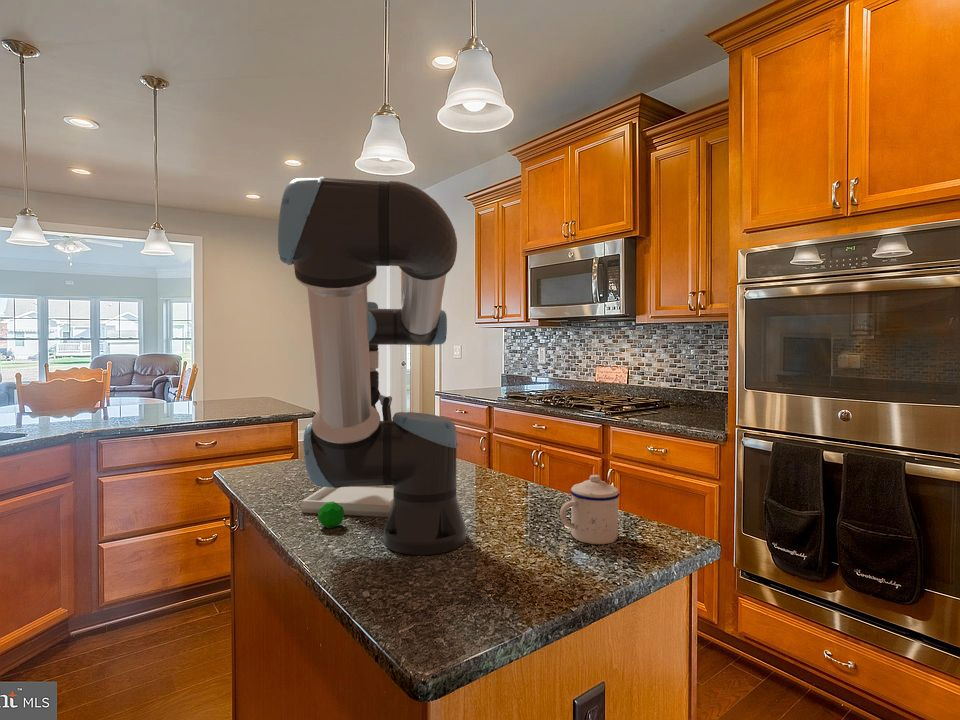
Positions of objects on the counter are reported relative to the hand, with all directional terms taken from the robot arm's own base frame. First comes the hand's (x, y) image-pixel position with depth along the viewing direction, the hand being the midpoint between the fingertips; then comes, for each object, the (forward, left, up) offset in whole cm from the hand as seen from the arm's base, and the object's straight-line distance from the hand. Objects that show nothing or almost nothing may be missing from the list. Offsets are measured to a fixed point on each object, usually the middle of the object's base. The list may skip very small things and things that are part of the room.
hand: (361, 470), depth 123 cm
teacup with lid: (-15, -50, -7) cm, 53 cm away
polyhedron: (-17, 0, -7) cm, 19 cm away
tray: (0, 0, -7) cm, 7 cm away
